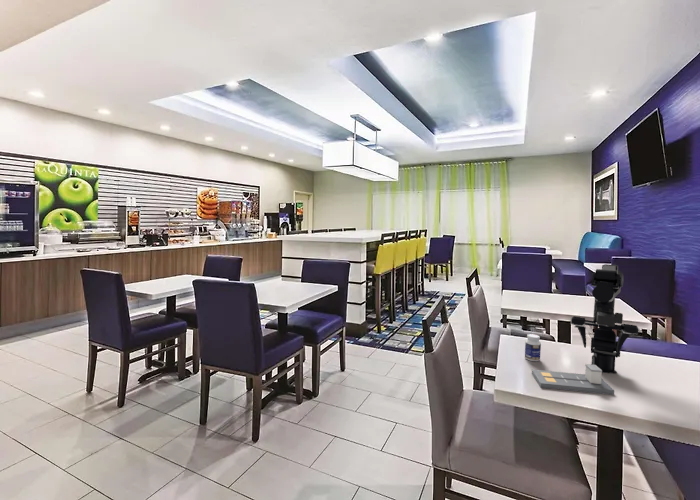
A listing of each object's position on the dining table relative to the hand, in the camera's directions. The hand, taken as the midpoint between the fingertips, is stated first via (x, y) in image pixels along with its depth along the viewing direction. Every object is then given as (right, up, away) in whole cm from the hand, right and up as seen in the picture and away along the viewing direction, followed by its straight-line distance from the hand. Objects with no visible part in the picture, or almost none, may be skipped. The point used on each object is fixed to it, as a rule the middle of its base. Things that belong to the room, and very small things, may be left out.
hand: (600, 350), depth 123 cm
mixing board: (-9, -12, +3) cm, 15 cm away
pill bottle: (-10, -11, +26) cm, 30 cm away
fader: (-2, -11, +1) cm, 11 cm away
